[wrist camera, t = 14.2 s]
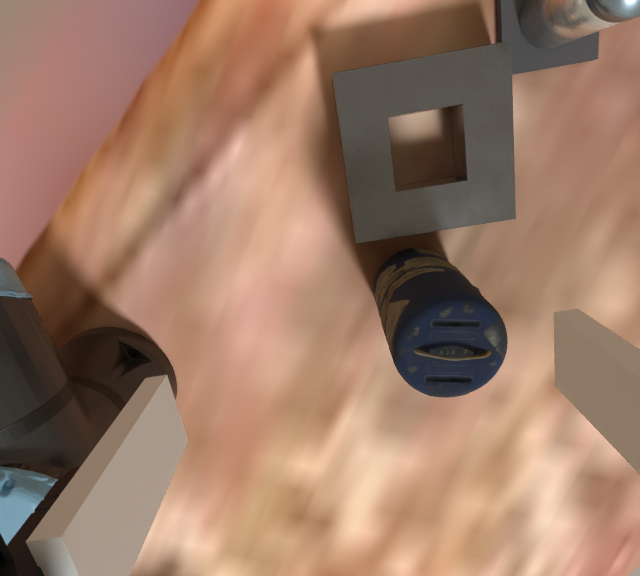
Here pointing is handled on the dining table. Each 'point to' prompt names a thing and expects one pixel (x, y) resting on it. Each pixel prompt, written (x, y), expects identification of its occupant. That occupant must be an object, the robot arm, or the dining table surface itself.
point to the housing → (467, 132)
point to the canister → (438, 324)
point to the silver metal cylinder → (571, 19)
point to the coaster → (537, 58)
